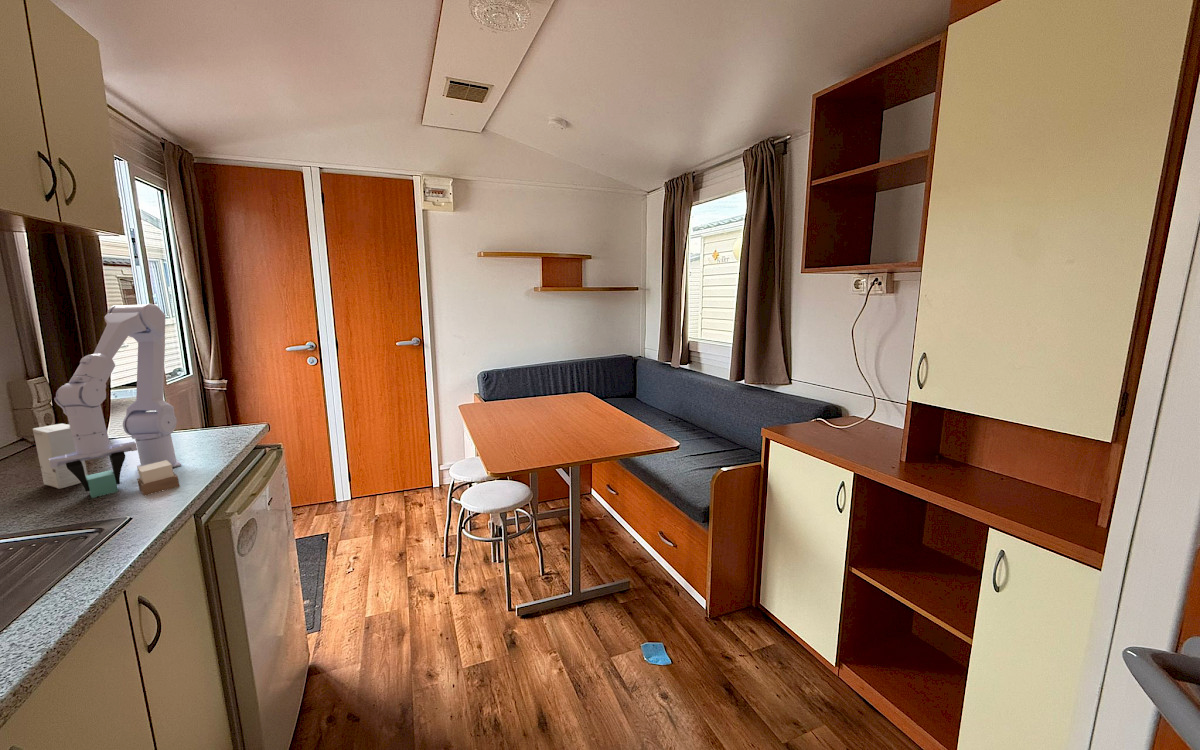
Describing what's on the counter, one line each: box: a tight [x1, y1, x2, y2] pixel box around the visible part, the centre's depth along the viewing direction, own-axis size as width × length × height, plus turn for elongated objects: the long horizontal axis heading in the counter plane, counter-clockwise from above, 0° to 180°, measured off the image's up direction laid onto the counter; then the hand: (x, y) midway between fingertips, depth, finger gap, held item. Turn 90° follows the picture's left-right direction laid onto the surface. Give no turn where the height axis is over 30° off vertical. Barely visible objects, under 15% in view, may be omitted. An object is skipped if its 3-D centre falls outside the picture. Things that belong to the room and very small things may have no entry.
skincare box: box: [32, 423, 89, 490], centre depth 125 cm, size 8×6×15 cm
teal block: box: [86, 469, 119, 499], centre depth 119 cm, size 4×4×4 cm
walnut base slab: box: [137, 471, 181, 497], centre depth 121 cm, size 6×6×3 cm
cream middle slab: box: [136, 460, 175, 484], centre depth 120 cm, size 6×6×3 cm
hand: (102, 486), depth 119 cm, fingers closed on teal block, 4 cm apart
